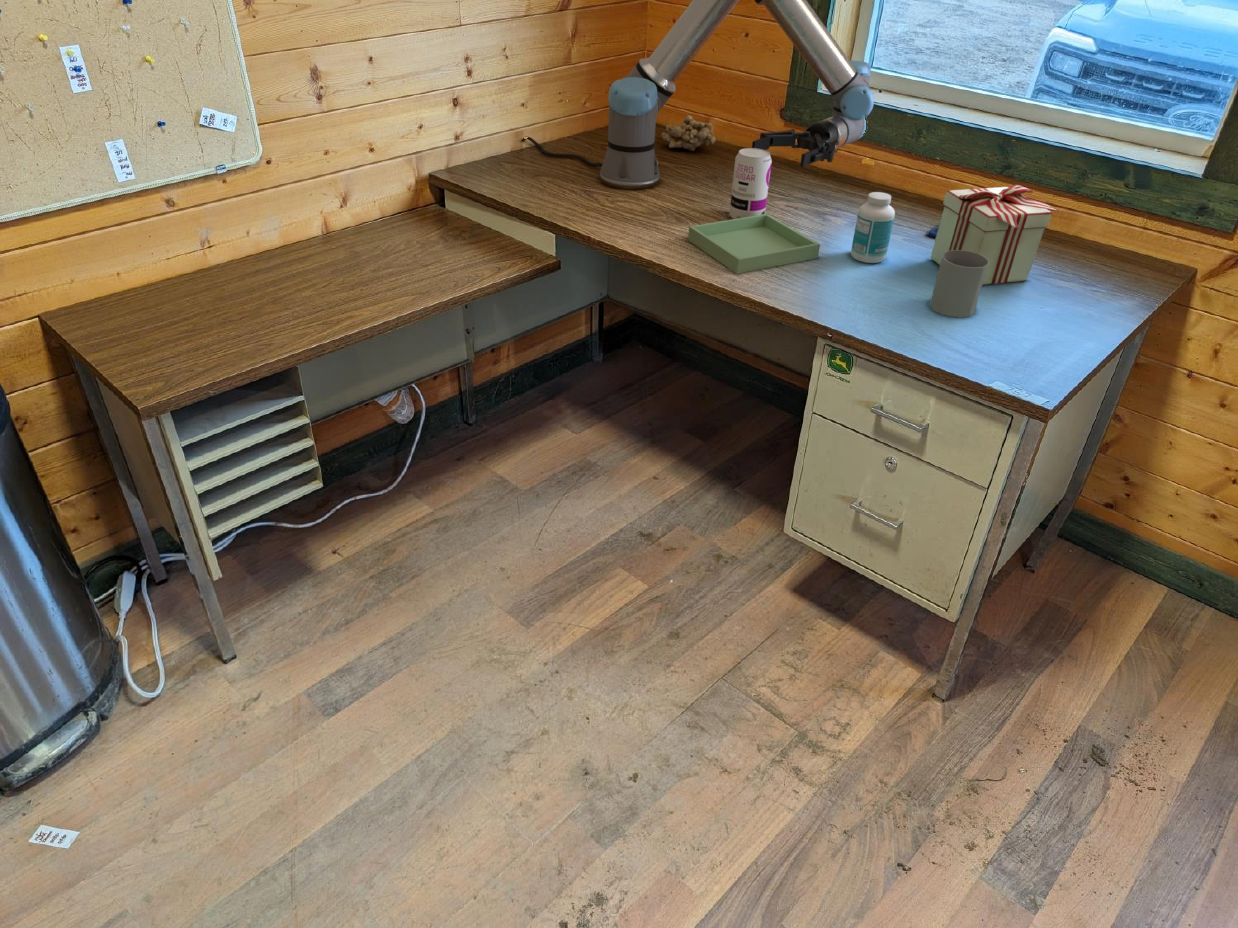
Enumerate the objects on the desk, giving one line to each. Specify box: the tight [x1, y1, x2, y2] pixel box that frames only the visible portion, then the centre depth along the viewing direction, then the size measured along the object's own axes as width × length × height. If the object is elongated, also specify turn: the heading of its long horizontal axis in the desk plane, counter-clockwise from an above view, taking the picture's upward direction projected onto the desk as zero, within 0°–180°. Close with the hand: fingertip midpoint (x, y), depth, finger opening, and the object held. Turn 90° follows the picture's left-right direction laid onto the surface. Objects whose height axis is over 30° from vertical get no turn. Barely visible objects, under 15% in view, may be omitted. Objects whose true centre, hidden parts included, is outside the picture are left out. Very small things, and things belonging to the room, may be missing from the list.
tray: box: [687, 213, 821, 274], centre depth 190 cm, size 20×21×3 cm
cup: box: [929, 250, 989, 319], centre depth 168 cm, size 8×8×10 cm
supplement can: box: [728, 147, 773, 220], centre depth 202 cm, size 8×8×15 cm
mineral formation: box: [661, 114, 717, 152], centre depth 248 cm, size 8×13×15 cm
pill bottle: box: [850, 191, 896, 264], centre depth 185 cm, size 8×7×14 cm
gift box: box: [930, 184, 1061, 286], centre depth 180 cm, size 17×18×17 cm
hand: (777, 154), depth 205 cm, fingers open, 13 cm apart
